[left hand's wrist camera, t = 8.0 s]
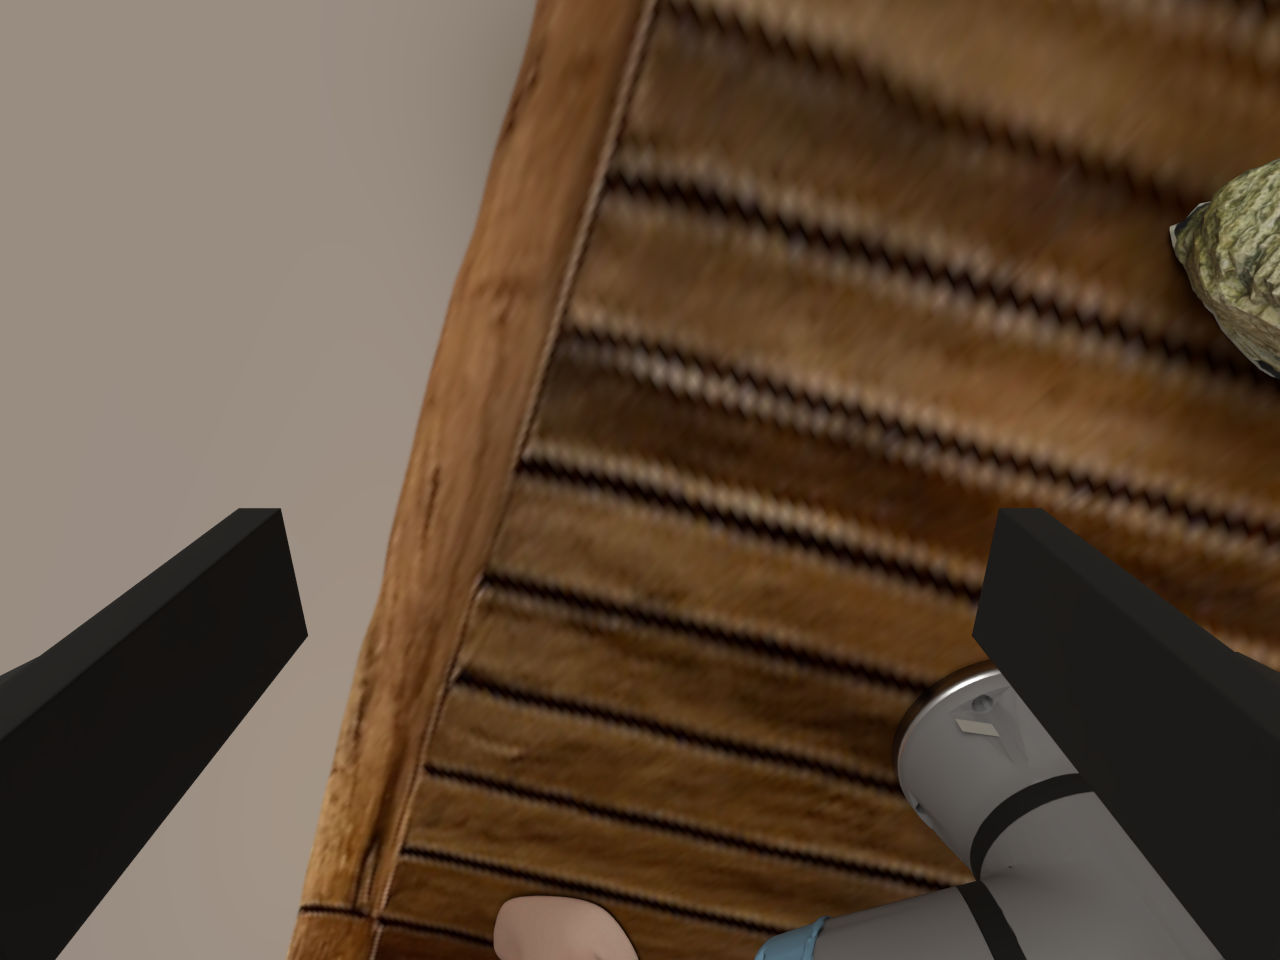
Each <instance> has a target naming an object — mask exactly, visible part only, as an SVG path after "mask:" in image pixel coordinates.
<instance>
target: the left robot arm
mask: <svg viewBox="0 0 1280 960" xmlns="http://www.w3.org/2000/svg"><path fill="white" fill-rule="evenodd" d="M307 636H308V633H307V628H306V624H305V619H304V614H303V610H302V605H301V600H300V596H299V591H298V587H297V582H296V577H295V573H294V568H293V563H292V559H291V554H290V549H289V545H288V540H287V535H286V531H285V526H284V521H283V517H282V512H281V508H239V509H237V510H236V511H235V512H233V513H232V514H231V515H229V516H228V517H226V518H225V519H224V520H222V521H221V522H220V523H218V524H217V525H216V526H214V527H213V528H212V529H210V530H209V531H208V532H206V533H205V534H204V535H202V536H201V537H200V538H198V539H197V540H195V541H194V542H193V543H191V544H190V545H189V546H187V547H186V548H185V549H183V550H182V551H181V552H179V553H178V554H177V555H175V556H174V557H173V558H171V559H170V560H169V561H167V562H166V563H164V564H163V565H162V566H160V567H159V568H158V569H156V570H155V571H154V572H152V573H151V574H150V575H148V576H147V577H146V578H144V579H143V580H142V581H140V582H139V583H138V584H136V585H135V586H134V587H132V588H131V589H130V590H128V591H127V592H125V593H124V594H123V595H121V596H120V597H119V598H117V599H116V600H115V601H113V602H112V603H111V604H109V605H108V606H107V607H105V608H104V609H103V610H101V611H100V612H99V613H97V614H96V615H95V616H93V617H92V618H90V619H89V620H88V621H86V622H85V623H84V624H82V625H81V626H80V627H78V628H77V629H76V630H74V631H73V632H72V633H70V634H69V635H68V636H66V637H65V638H63V639H62V640H61V641H59V642H58V643H57V644H55V645H54V646H53V647H51V648H50V649H49V650H47V651H46V652H45V653H43V654H42V655H41V656H39V657H37V658H35V659H33V660H31V661H29V662H27V663H25V664H23V665H21V666H19V667H17V668H15V669H13V670H11V671H9V672H7V673H5V674H3V675H1V676H0V960H55V959H56V958H57V957H58V955H59V954H60V953H61V952H62V950H63V949H64V948H65V947H66V945H67V944H68V943H69V941H70V940H71V939H72V938H73V936H74V935H75V934H76V932H77V931H78V930H79V929H80V927H81V926H82V925H83V923H84V922H85V921H86V920H87V918H88V917H89V916H90V915H91V913H92V912H93V911H94V909H95V908H96V907H97V906H98V904H99V903H100V902H101V900H102V899H103V898H104V897H105V895H106V894H107V893H108V891H109V890H110V889H111V888H112V886H113V885H114V884H115V882H116V881H117V880H118V879H119V877H120V876H121V875H122V874H123V872H124V871H125V870H126V868H127V867H128V866H129V865H130V863H131V862H132V861H133V859H134V858H135V857H136V856H137V854H138V853H139V852H140V850H141V849H142V848H143V847H144V845H145V844H146V843H147V841H148V840H149V839H150V838H151V836H152V835H153V834H154V832H155V831H156V830H157V829H158V827H159V826H160V825H161V824H162V822H163V821H164V820H165V818H166V817H167V816H168V815H169V813H170V812H171V811H172V809H173V808H174V807H175V805H176V804H177V803H178V802H179V800H180V799H181V798H182V797H183V795H184V794H185V793H186V791H187V790H188V789H189V788H190V786H191V785H192V784H193V783H194V781H195V780H196V779H197V777H198V776H199V775H200V774H201V772H202V771H203V770H204V768H205V767H206V766H207V765H208V763H209V762H210V761H211V759H212V758H213V757H214V756H215V754H216V753H217V752H218V751H219V749H220V748H221V747H222V745H223V744H224V743H225V742H226V740H227V739H228V738H229V736H230V735H231V734H232V733H233V731H234V730H235V729H236V727H237V726H238V725H239V724H240V722H241V721H242V720H243V718H244V717H245V716H246V715H247V713H248V712H249V711H250V710H251V708H252V707H253V706H254V704H255V703H256V702H257V701H258V699H259V698H260V697H261V695H262V694H263V693H264V692H265V690H266V689H267V688H268V686H269V685H270V684H271V683H272V681H273V680H274V679H275V677H276V676H277V675H278V674H279V672H280V671H281V670H282V669H283V667H284V666H285V665H286V663H287V662H288V661H289V660H290V658H291V657H292V656H293V654H294V653H295V652H296V650H297V649H298V648H299V647H300V645H301V644H302V643H303V642H304V640H305V639H306V638H307ZM972 636H973V638H974V639H975V640H976V642H977V643H978V644H979V645H980V647H981V648H982V649H983V651H984V652H985V653H986V654H987V656H988V657H989V658H990V660H986V661H982V662H979V663H976V664H972V665H970V666H967V667H965V668H962V669H960V670H958V671H956V672H954V673H952V674H950V675H948V676H946V677H945V678H943V679H941V680H940V681H938V682H937V683H935V684H934V685H933V686H931V687H930V688H929V689H928V690H926V691H925V692H924V693H923V694H922V695H921V696H920V697H919V698H918V699H917V700H916V701H915V702H914V703H913V705H912V706H911V707H910V708H909V710H908V711H907V712H906V714H905V715H904V717H903V719H902V721H901V722H900V724H899V727H898V729H897V731H896V735H895V738H894V742H893V749H892V761H893V767H894V772H895V774H896V777H897V780H898V782H899V784H900V786H901V789H902V791H903V793H904V795H905V797H906V799H907V801H908V802H909V804H910V805H911V807H912V808H913V809H914V811H915V812H916V813H917V815H918V816H919V817H920V818H921V819H922V820H923V821H924V822H925V823H926V824H927V825H928V826H929V827H930V828H932V829H933V830H934V831H935V833H936V834H937V835H938V836H939V838H940V839H941V840H942V841H943V842H944V843H945V844H946V845H947V846H948V847H949V848H950V849H951V850H952V851H953V852H954V853H955V854H956V855H957V856H958V857H959V859H960V860H961V861H962V862H963V863H964V864H965V865H966V866H967V867H968V868H969V869H970V870H971V872H972V874H973V876H974V878H975V879H976V881H975V882H971V883H967V884H963V885H959V886H956V887H955V886H954V887H950V888H946V889H942V890H938V891H935V892H931V893H927V894H923V895H919V896H915V897H912V898H908V899H904V900H900V901H896V902H892V903H889V904H885V905H881V906H877V907H873V908H869V909H866V910H862V911H858V912H854V913H850V914H846V915H842V916H838V917H833V918H831V916H823V917H820V918H818V919H817V920H816V922H815V923H812V924H809V925H806V926H803V927H800V928H797V929H794V930H791V931H788V932H785V933H783V934H779V935H776V936H774V937H772V938H770V939H769V940H767V941H766V942H765V943H764V944H763V945H762V947H761V948H760V949H759V951H758V953H757V955H756V957H755V959H754V960H1280V673H1279V672H1277V671H1275V670H1273V669H1271V668H1269V667H1267V666H1265V665H1263V664H1261V663H1259V662H1257V661H1255V660H1253V659H1251V658H1249V657H1247V656H1245V655H1243V654H1241V653H1239V652H1234V651H1233V650H1231V649H1230V648H1229V647H1227V646H1226V645H1225V644H1223V643H1222V642H1221V641H1219V640H1218V639H1217V638H1215V637H1214V636H1212V635H1211V634H1210V633H1208V632H1207V631H1206V630H1204V629H1203V628H1202V627H1200V626H1199V625H1198V624H1196V623H1195V622H1194V621H1192V620H1191V619H1190V618H1188V617H1187V616H1186V615H1184V614H1183V613H1182V612H1180V611H1179V610H1177V609H1176V608H1175V607H1173V606H1172V605H1171V604H1169V603H1168V602H1167V601H1165V600H1164V599H1163V598H1161V597H1160V596H1159V595H1157V594H1156V593H1155V592H1153V591H1152V590H1151V589H1149V588H1148V587H1146V586H1145V585H1144V584H1142V583H1141V582H1140V581H1138V580H1137V579H1136V578H1134V577H1133V576H1132V575H1130V574H1129V573H1128V572H1126V571H1125V570H1124V569H1122V568H1121V567H1120V566H1118V565H1117V564H1115V563H1114V562H1113V561H1111V560H1110V559H1109V558H1107V557H1106V556H1105V555H1103V554H1102V553H1101V552H1099V551H1098V550H1097V549H1095V548H1094V547H1093V546H1091V545H1090V544H1089V543H1087V542H1086V541H1085V540H1083V539H1082V538H1080V537H1079V536H1078V535H1076V534H1075V533H1074V532H1072V531H1071V530H1070V529H1068V528H1067V527H1066V526H1064V525H1063V524H1062V523H1060V522H1059V521H1058V520H1056V519H1055V518H1054V517H1052V516H1051V515H1049V514H1048V513H1047V512H1045V511H1044V510H1043V509H1041V508H999V512H998V517H997V521H996V526H995V531H994V535H993V540H992V545H991V549H990V554H989V559H988V563H987V568H986V573H985V577H984V582H983V587H982V591H981V596H980V600H979V605H978V610H977V614H976V619H975V624H974V628H973V633H972Z"/></svg>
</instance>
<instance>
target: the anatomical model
mask: <svg viewBox="0 0 1280 960" xmlns="http://www.w3.org/2000/svg"><path fill="white" fill-rule="evenodd" d="M494 949H495V952H496V954H497V955H498V957H499V958H500V959H501V960H638V957H637V955H636V952H635V950H634V948H633V946H632V944H631V943H630V941H629V939H628V938H627V936H626V934H625V933H624V931H623V930H622V928H621V927H620V926H619V924H618V923H617V922H616V921H615V919H614V918H613V917H612V916H611V915H610V914H609V913H608V912H606V911H605V910H604V909H603V908H601V907H599V906H597V905H596V904H593V903H591V902H588V901H584V900H580V899H575V898H568V897H559V896H524V897H517V898H513V899H511V900H508V901H507V902H506V903H504V904H503V906H502V907H501V909H500V911H499V914H498V917H497V921H496V925H495V929H494Z"/></svg>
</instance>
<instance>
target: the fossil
mask: <svg viewBox="0 0 1280 960" xmlns="http://www.w3.org/2000/svg"><path fill="white" fill-rule="evenodd" d="M1170 234H1171V239H1172V244H1173V248H1174V251H1175V254H1176V257H1177V258H1178V260H1179V261H1180V262H1181V263H1182V264H1183V266H1184V268H1185V270H1186V272H1187V275H1188V277H1189V280H1190V283H1191V286H1192V289H1193V291H1194V292H1195V293H1196V295H1197V297H1198V298H1199V299H1200V300H1201V301H1202V302H1203V304H1204V305H1205V307H1206V308H1207V309H1208V310H1209V311H1210V312H1211V313H1212V314H1213V315H1214V317H1215V319H1216V321H1217V322H1218V324H1219V326H1220V328H1221V330H1222V331H1223V332H1224V333H1225V334H1226V336H1227V337H1228V338H1229V339H1230V340H1231V341H1232V342H1233V343H1234V344H1235V345H1236V347H1237V348H1238V349H1239V350H1240V351H1241V352H1242V353H1243V354H1244V355H1245V356H1246V357H1247V358H1248V359H1249V360H1250V361H1251V362H1252V363H1254V364H1255V365H1256V366H1257V367H1258V368H1259V369H1260V370H1262V371H1263V372H1265V373H1267V374H1268V375H1270V376H1272V377H1275V378H1277V379H1280V158H1279V159H1276V160H1274V161H1271V162H1269V163H1267V164H1265V165H1263V166H1261V167H1258V168H1253V169H1250V170H1248V171H1246V172H1245V173H1243V174H1241V175H1240V176H1238V177H1236V178H1234V179H1233V180H1231V181H1229V182H1227V183H1226V184H1225V185H1224V186H1223V187H1221V188H1220V189H1219V190H1218V191H1217V192H1216V193H1215V194H1214V195H1213V197H1212V199H1211V202H1206V203H1201V204H1199V205H1198V206H1197V207H1196V208H1195V209H1194V210H1193V211H1192V212H1191V213H1190V214H1189V216H1188V217H1187V218H1186V219H1185V220H1184V222H1181V223H1178V224H1176V225H1173V226H1170Z"/></svg>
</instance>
